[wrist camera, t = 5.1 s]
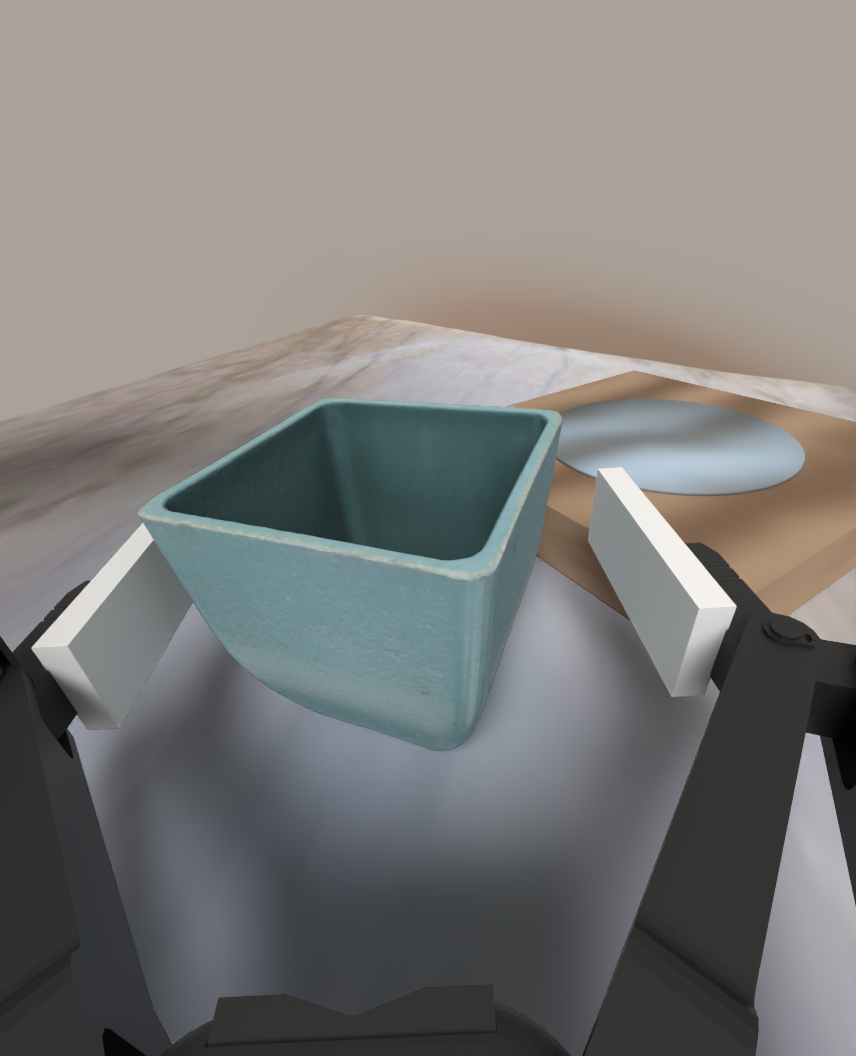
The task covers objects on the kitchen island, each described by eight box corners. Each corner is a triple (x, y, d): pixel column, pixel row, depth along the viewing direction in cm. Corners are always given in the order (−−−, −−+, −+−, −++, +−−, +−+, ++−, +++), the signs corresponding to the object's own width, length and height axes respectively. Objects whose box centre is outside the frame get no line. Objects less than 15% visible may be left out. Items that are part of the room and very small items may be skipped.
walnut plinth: (419, 474, 32) (416, 428, 30) (628, 407, 40) (634, 367, 39) (707, 673, 17) (732, 604, 16) (943, 503, 26) (976, 445, 24)
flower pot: (227, 743, 16) (121, 507, 11) (356, 582, 23) (323, 392, 18) (486, 842, 13) (489, 578, 8) (545, 623, 20) (566, 409, 15)
